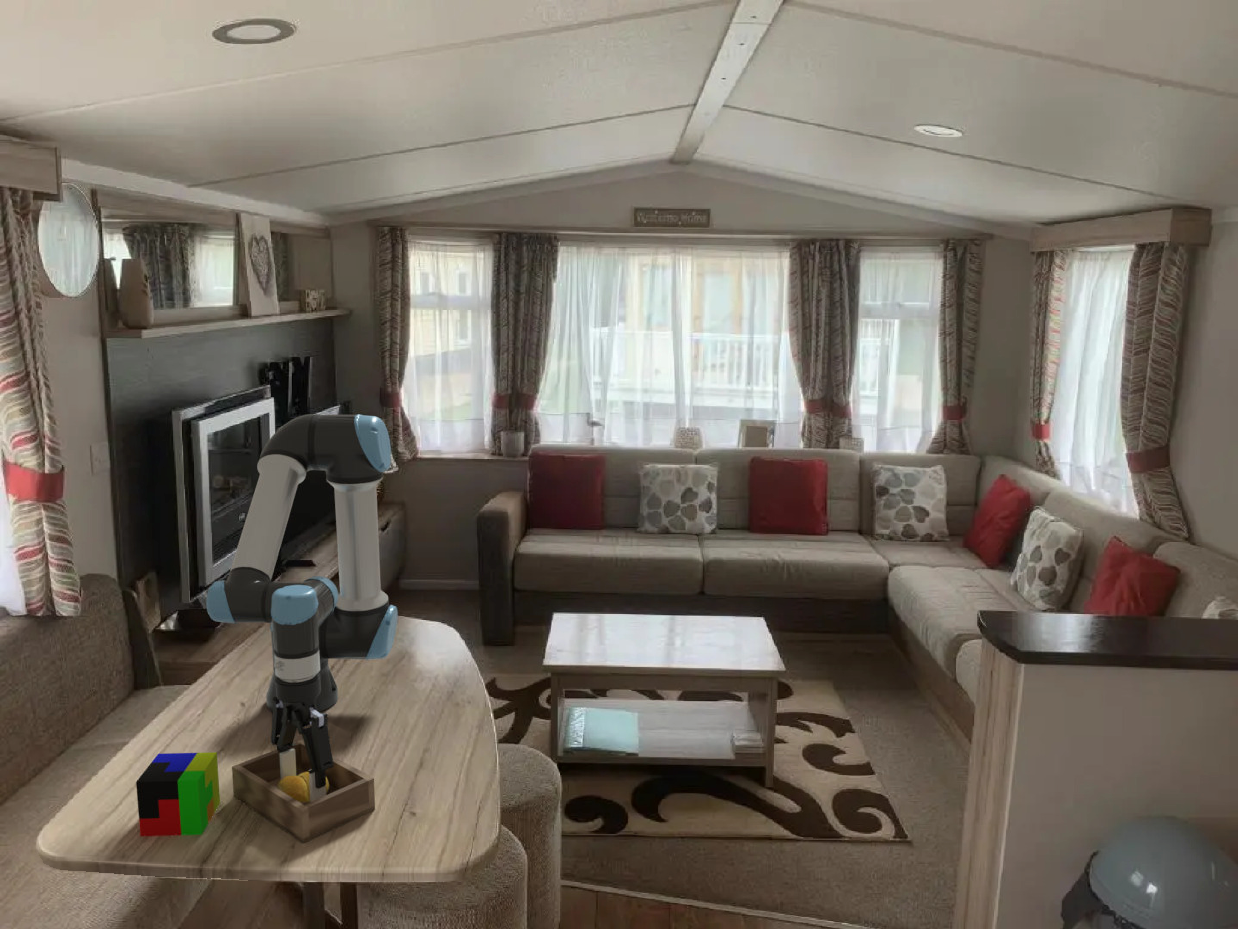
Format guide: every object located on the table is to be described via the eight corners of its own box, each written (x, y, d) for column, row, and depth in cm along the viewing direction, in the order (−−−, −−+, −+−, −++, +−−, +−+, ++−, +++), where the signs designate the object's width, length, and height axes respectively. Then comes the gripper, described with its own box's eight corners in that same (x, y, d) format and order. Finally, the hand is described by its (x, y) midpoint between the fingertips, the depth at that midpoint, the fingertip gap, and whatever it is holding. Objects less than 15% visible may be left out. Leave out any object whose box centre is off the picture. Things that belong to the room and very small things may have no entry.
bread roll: (335, 798, 177) (334, 777, 176) (284, 812, 172) (283, 791, 171) (321, 778, 184) (320, 758, 183) (271, 791, 179) (270, 771, 178)
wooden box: (233, 797, 179) (231, 766, 178) (303, 768, 190) (302, 739, 189) (303, 843, 165) (301, 810, 164) (375, 809, 176) (374, 778, 175)
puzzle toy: (162, 805, 176) (158, 753, 175) (220, 804, 177) (216, 752, 175) (140, 837, 167) (136, 782, 165) (201, 835, 168) (198, 780, 166)
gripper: (245, 664, 177) (252, 781, 181) (313, 698, 164) (319, 823, 168) (283, 653, 183) (289, 766, 187) (352, 684, 169) (356, 806, 174)
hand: (303, 793), depth 178 cm, fingers closed on bread roll, 9 cm apart
